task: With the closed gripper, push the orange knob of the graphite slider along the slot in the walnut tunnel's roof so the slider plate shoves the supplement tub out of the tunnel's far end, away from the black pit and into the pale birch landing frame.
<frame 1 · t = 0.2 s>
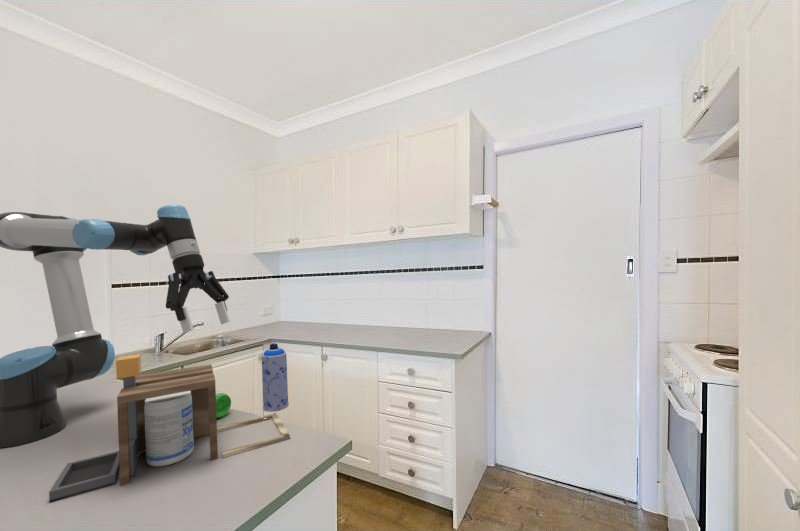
hand: (208, 327, 99), 28 cm above the worktop, tool tilted 20°, fingers open, 13 cm apart
supplement tub: (170, 457, 83), on the worktop
landing frame: (252, 434, 92), on the worktop
aerosol can: (275, 407, 111), on the worktop
walnut tunnel: (173, 455, 83), on the worktop
slider: (131, 409, 80), point 13 cm above the worktop, slide at 0.0 cm
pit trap: (90, 477, 75), on the worktop
speaker: (202, 415, 107), on the worktop
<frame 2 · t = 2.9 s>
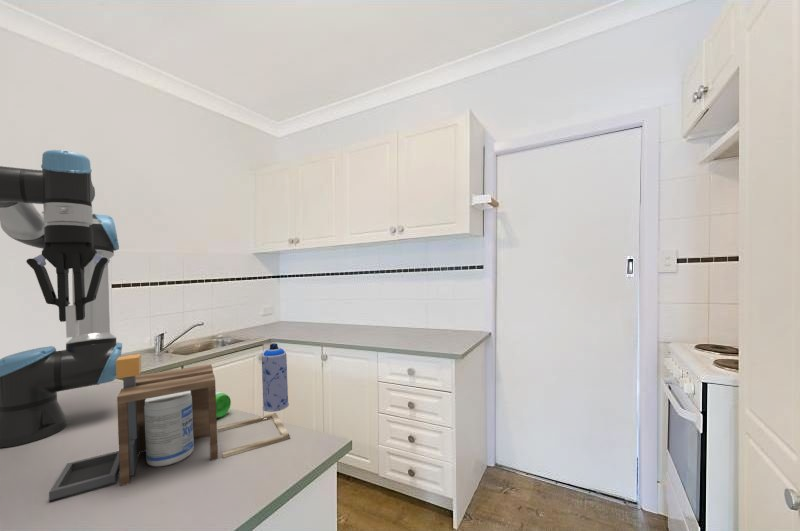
hand: (73, 336, 74), 31 cm above the worktop, tool pointing down, fingers closed
nothing on the worktop moved.
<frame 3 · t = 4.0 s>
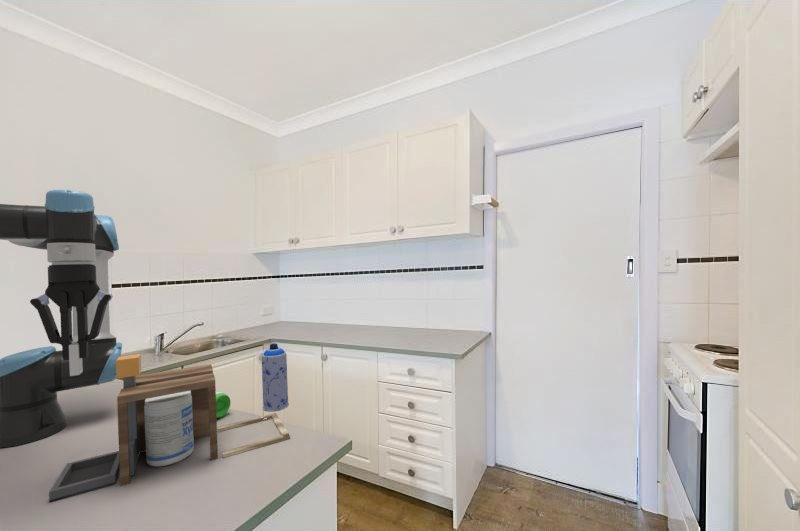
hand: (76, 373, 74), 23 cm above the worktop, tool pointing down, fingers closed
nothing on the worktop moved.
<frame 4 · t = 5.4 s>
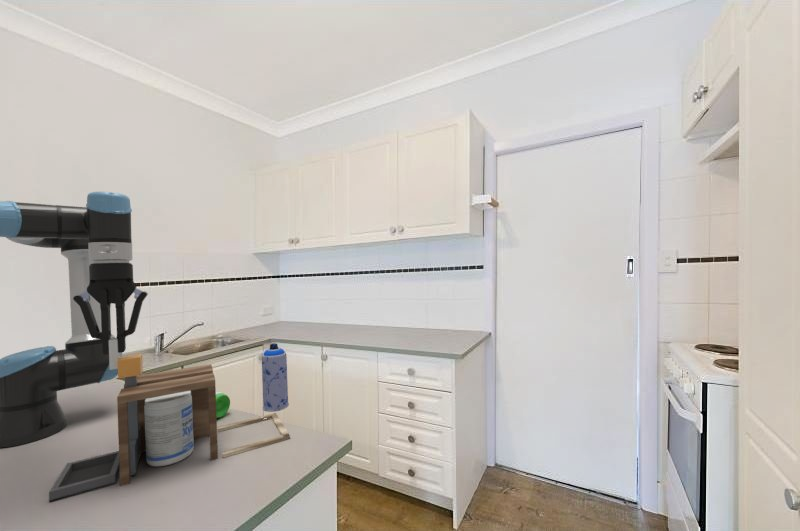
hand: (115, 367, 77), 23 cm above the worktop, tool pointing down, fingers closed
slider: (132, 409, 80), point 13 cm above the worktop, slide at 0.3 cm, touching gripper
everything else where it was.
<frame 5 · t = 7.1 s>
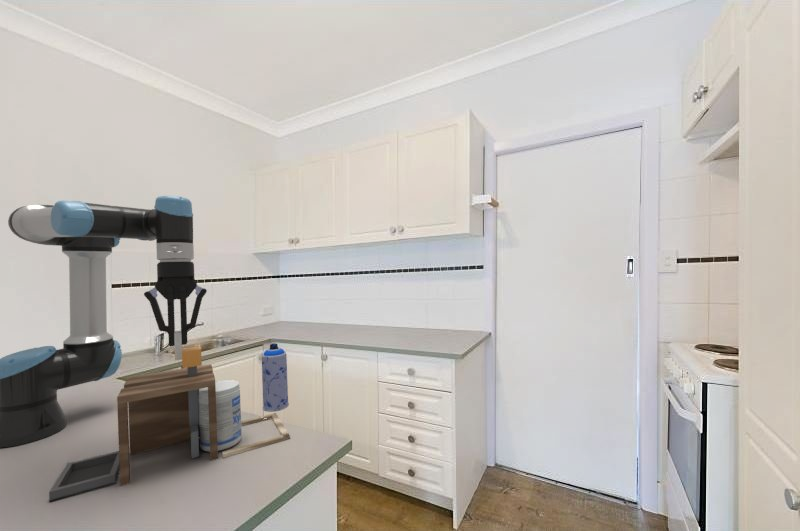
hand: (178, 358, 84), 23 cm above the worktop, tool pointing down, fingers closed
supplement tub: (221, 444, 88), on the worktop, touching slider
slider: (193, 397, 86), point 13 cm above the worktop, slide at 12.3 cm, touching gripper, supplement tub
everything else where it was.
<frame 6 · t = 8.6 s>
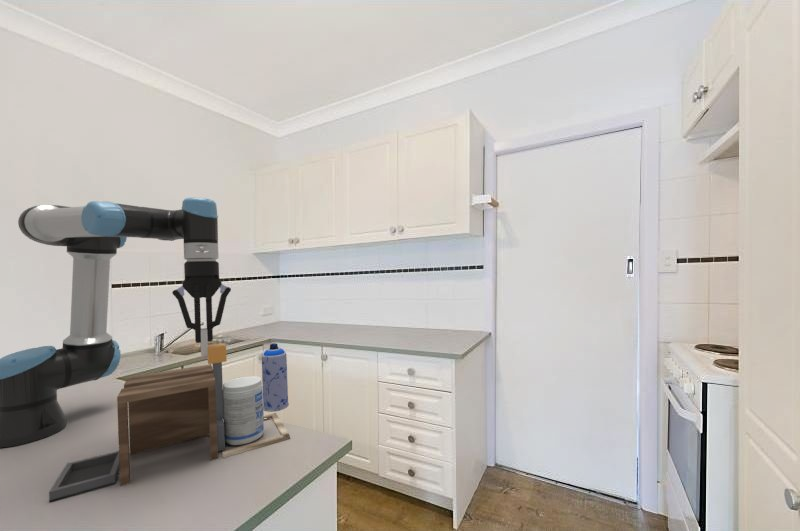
hand: (204, 355, 87), 23 cm above the worktop, tool pointing down, fingers closed
supplement tub: (244, 438, 91), on the worktop, touching slider
slider: (217, 392, 89), point 13 cm above the worktop, slide at 17.7 cm, touching gripper, supplement tub
everything else where it was.
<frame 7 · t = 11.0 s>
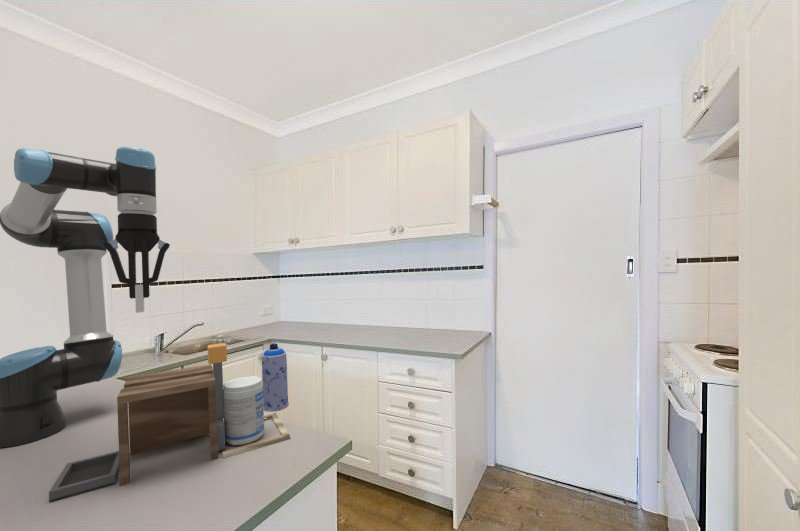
hand: (140, 311, 84), 35 cm above the worktop, tool pointing down, fingers closed
slider: (218, 392, 89), point 13 cm above the worktop, slide at 17.8 cm, touching supplement tub
everything else where it was.
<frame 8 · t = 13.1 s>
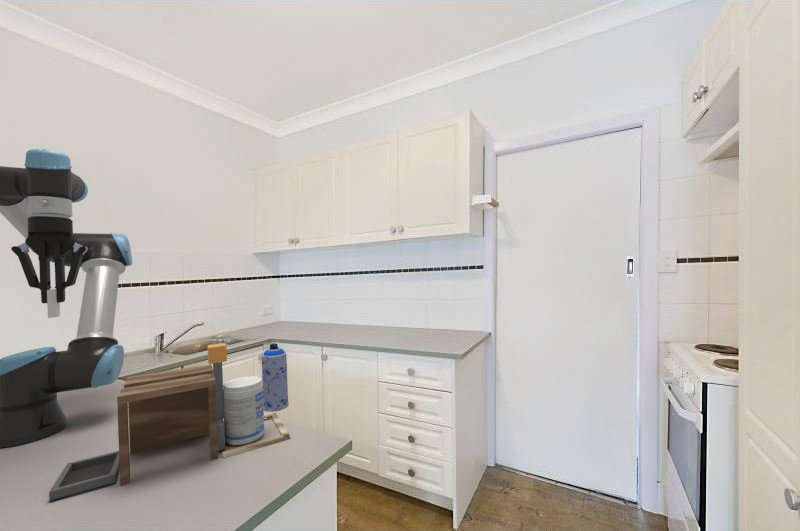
hand: (54, 316, 82), 34 cm above the worktop, tool pointing down, fingers closed
at the end: supplement tub inside the target area (3.3 cm from its centre), on the worktop; supplement tub tilted 0°; slider slide at 17.8 cm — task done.
